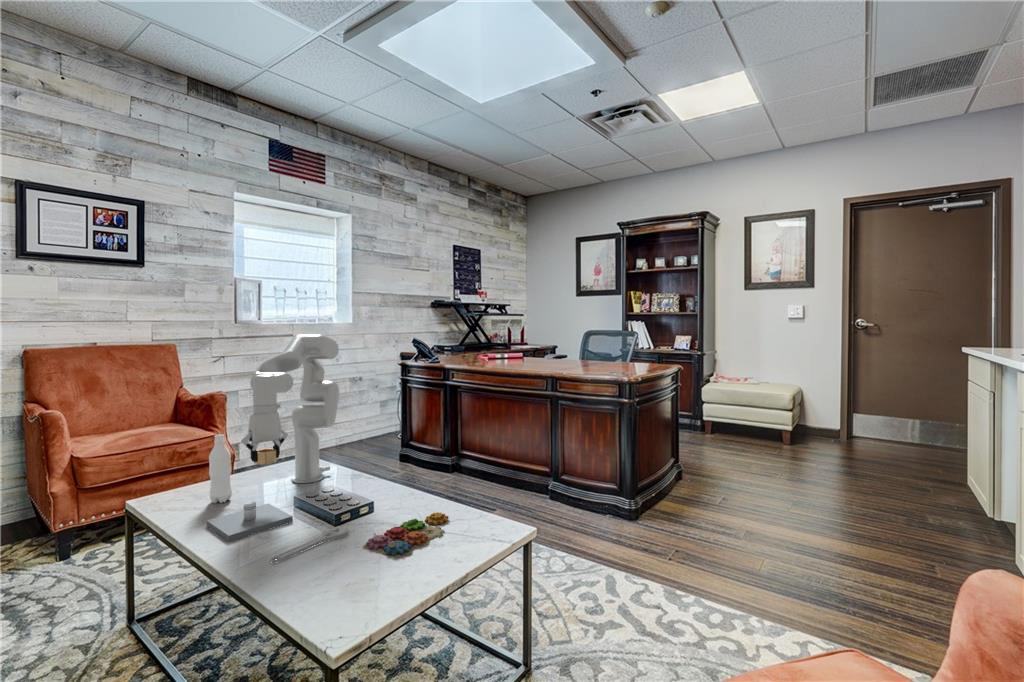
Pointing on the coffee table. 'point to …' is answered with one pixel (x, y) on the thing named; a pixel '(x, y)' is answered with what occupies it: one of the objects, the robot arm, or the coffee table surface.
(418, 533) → the gear puzzle
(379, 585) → the coffee table surface
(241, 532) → the stand
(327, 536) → the adjustable wrench
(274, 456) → the bronze ring
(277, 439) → the robot arm
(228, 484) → the water bottle
